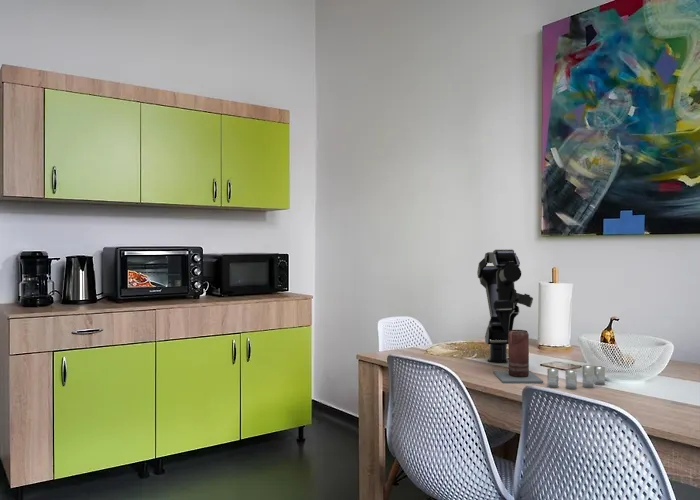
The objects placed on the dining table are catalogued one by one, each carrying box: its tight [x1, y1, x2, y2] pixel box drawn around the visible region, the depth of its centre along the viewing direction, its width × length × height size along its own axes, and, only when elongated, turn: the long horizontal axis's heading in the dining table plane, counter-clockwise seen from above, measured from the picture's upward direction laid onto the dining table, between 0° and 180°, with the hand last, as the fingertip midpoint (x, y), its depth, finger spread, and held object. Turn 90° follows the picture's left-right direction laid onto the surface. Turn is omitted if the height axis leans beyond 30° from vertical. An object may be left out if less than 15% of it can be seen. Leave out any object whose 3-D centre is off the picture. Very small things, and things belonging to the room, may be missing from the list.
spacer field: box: [547, 364, 606, 390], centre depth 170 cm, size 8×21×6 cm, turn 114°
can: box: [507, 329, 530, 377], centre depth 180 cm, size 6×6×14 cm
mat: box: [492, 370, 544, 384], centre depth 179 cm, size 14×12×1 cm
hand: (508, 332), depth 190 cm, fingers open, 9 cm apart
